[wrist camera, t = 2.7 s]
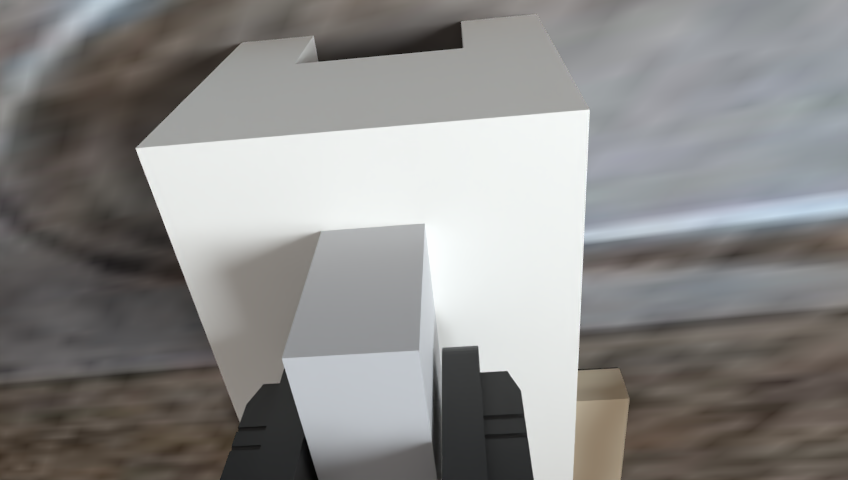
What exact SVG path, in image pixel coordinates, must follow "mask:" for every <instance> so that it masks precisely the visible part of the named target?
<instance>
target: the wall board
mask: <svg viewBox="0 0 848 480" xmlns="http://www.w3.org/2000/svg"><path fill="white" fill-rule="evenodd" d="M628 408H629V396H628V393H627V390H626V387H625V384H624V381H623V378H622V375H621V372H620V369H619V368H614V369H596V370H578V379H577V401H576V423H575V445H574V467H573V480H621V472H622V463H623V453H624V444H625V435H626V426H627V417H628Z"/></svg>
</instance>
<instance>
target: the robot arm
mask: <svg viewBox="0 0 848 480" xmlns="http://www.w3.org/2000/svg"><path fill="white" fill-rule="evenodd" d="M238 429H239V430H238V432H236V435H235V438H234V441H233V444H232V451H230V453H229V455H228V458H227V461H226V464H225V467H224V470H223V473H222V475H221V478H220V480H318V477H317V473H316V470H315V467H314V464H313V460H312V457H311V454H310V450H309V447H308V444H307V440H306V437H305V434H304V431H303V427H302V424H301V421H300V417H299V414H298V411H297V407H296V404H295V401H294V397H293V394H292V391H291V388H290V384H289V381H288V378H287V374H286V371H285V368H284V370H283V374H282V377H281V380H280V383H274V384H263V385H262V386H261V388H260V389H259V390H258V391H257V392H256V394H255V395H254V396H253V397H252V398H251V400H250V401H249V402H248V403H247V404H246V407H245V410H244V412H243V415H242V418H241V421H240V424H239V427H238ZM442 480H534V478H533V471H532V464H531V457H530V450H529V443H528V438H527V429H526V422H525V417H524V408H523V401H522V394H521V390H520V388H519V387H518V386H517V384H516V383H515V381H514V380H513V378H512V377H511V376H510V374H509V373H508V371H497V372H480V363H479V349H478V346H462V347H445V348H442Z"/></svg>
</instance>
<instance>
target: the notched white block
mask: <svg viewBox="0 0 848 480" xmlns="http://www.w3.org/2000/svg"><path fill="white" fill-rule="evenodd" d="M461 30H462V45H463V48H460V49H449V50H439V51H428V52H418V53H407V54H396V55H386V56H375V57H364V58H354V59H343V60H333V61H322V62H318V57H317V51H316V46H315V41H314V36H305V37H294V38H284V39H274V40H264V41H253V42H243V43H241V44H240V45H239V46H238V47H237V48H236V49H235V50H234V51H233V52H232V53H231V54H230V55H229V56H228V57H227V58H226V59H225V60H224V61H223V62H222V63H221V64H220V65H219V66H218V67H217V68H216V69H215V70H214V71H213V72H212V73H211V74H210V75H209V76H208V77H207V78H206V79H205V80H204V81H203V82H202V83H201V84H200V85H199V86H198V87H197V88H196V89H195V90H194V91H193V92H192V93H191V94H190V95H189V96H188V97H186V98H185V99H184V100H183V101H182V102H181V103H180V104H179V105H178V106H177V107H176V108H175V109H174V110H173V111H172V112H171V113H170V114H169V115H168V116H167V117H166V118H165V119H164V120H163V121H162V122H161V123H160V124H159V125H158V126H157V127H156V128H155V129H154V130H153V131H152V132H151V133H150V134H149V135H148V136H147V137H146V138H145V139H144V140H143V141H142V142H141V143H140V144H139V145H138V146H137V147H136V148H135V149H136V151H137V154H138V156H139V159H140V162H141V164H142V167H143V170H144V172H145V175H146V178H147V180H148V183H149V185H150V188H151V191H152V193H153V196H154V199H155V201H156V204H157V206H158V209H159V212H160V214H161V217H162V220H163V222H164V225H165V227H166V230H167V233H168V235H169V238H170V241H171V243H172V246H173V249H174V251H175V254H176V256H177V259H178V262H179V264H180V267H181V270H182V272H183V275H184V277H185V280H186V283H187V285H188V288H189V291H190V293H191V296H192V298H193V301H194V304H195V306H196V309H197V312H198V314H199V317H200V320H201V322H202V325H203V327H204V330H205V333H206V335H207V338H208V341H209V343H210V346H211V348H212V351H213V354H214V356H215V359H216V362H217V364H218V367H219V369H220V372H221V375H222V377H223V380H224V383H225V385H226V388H227V391H228V393H229V396H230V398H231V401H232V404H233V406H234V409H235V412H236V414H237V417H238V419H239V422H240V421H241V418H242V415H243V412H244V410H245V407H246V404H247V403H248V402H249V401H250V400H251V398H252V397H253V396H254V395H255V394H256V392H257V391H258V390H259V389H260V388H261V386H262V385H263V384H274V383H280V380H281V377H282V374H283V370H284V368H285V371H286V374H287V378H288V381H289V384H290V388H291V391H292V394H293V397H294V401H295V404H296V407H297V411H298V414H299V417H300V421H301V424H302V427H303V431H304V434H305V437H306V440H307V444H308V447H309V450H310V454H311V457H312V460H313V464H314V467H315V470H316V473H317V477H318V480H442V348H445V347H462V346H478V349H479V363H480V372H497V371H508V373H509V374H510V376H511V377H512V378H513V380H514V381H515V383H516V384H517V386H518V387H519V388H520V390H521V394H522V401H523V408H524V417H525V422H526V429H527V438H528V443H529V450H530V457H531V464H532V471H533V478H534V480H573V467H574V445H575V423H576V401H577V379H578V356H579V334H580V312H581V290H582V268H583V246H584V224H585V202H586V180H587V158H588V135H589V113H590V109H589V107H588V106H587V104H586V102H585V100H584V98H583V97H582V95H581V93H580V91H579V89H578V88H577V86H576V84H575V82H574V80H573V78H572V77H571V75H570V73H569V71H568V69H567V68H566V66H565V64H564V62H563V60H562V59H561V57H560V55H559V53H558V51H557V50H556V48H555V46H554V44H553V42H552V41H551V39H550V37H549V35H548V33H547V32H546V30H545V28H544V26H543V24H542V23H541V21H540V19H539V17H538V15H537V14H531V15H520V16H510V17H500V18H490V19H479V20H469V21H461Z"/></svg>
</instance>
